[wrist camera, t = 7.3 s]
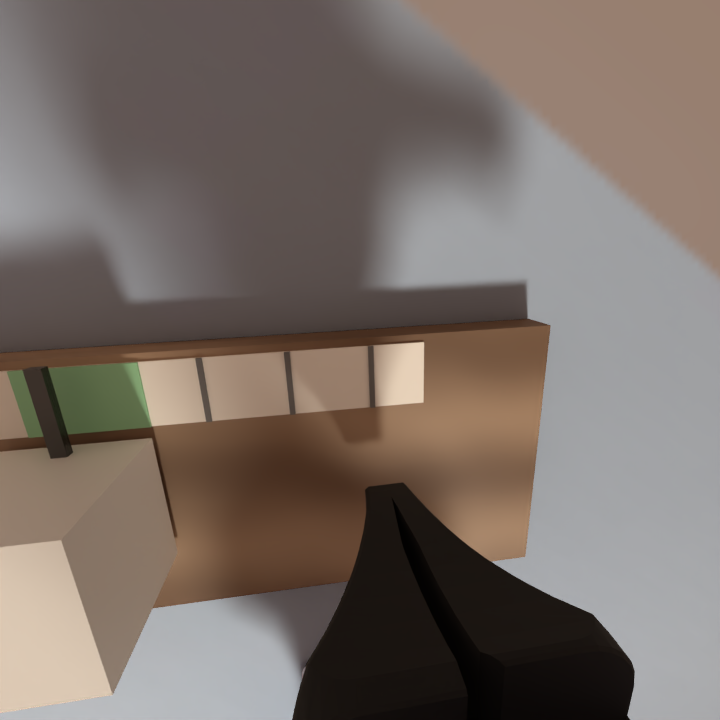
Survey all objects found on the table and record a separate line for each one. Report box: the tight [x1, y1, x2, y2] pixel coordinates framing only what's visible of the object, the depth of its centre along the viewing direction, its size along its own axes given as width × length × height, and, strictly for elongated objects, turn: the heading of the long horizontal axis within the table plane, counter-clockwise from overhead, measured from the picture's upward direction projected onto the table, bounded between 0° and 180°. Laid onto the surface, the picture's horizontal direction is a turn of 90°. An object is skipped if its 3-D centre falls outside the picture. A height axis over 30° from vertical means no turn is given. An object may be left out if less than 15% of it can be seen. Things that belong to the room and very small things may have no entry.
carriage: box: [0, 366, 178, 713], centre depth 10 cm, size 8×5×5 cm, turn 2°
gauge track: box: [0, 319, 550, 608], centre depth 12 cm, size 11×26×6 cm, turn 92°
